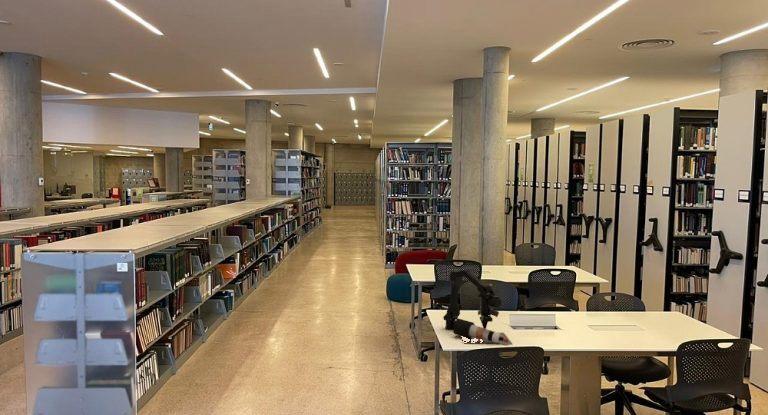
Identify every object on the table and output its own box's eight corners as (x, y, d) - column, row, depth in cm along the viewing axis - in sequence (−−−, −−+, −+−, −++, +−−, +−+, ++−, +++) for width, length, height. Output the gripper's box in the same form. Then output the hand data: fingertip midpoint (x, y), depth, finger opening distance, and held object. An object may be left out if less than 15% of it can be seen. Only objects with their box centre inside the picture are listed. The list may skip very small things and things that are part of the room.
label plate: (463, 343, 328) (463, 343, 327) (458, 332, 353) (458, 331, 353) (512, 344, 327) (512, 344, 327) (503, 332, 353) (503, 332, 353)
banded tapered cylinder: (505, 352, 325) (504, 340, 320) (454, 337, 343) (452, 325, 338) (511, 341, 332) (510, 329, 327) (460, 327, 350) (459, 315, 345)
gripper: (501, 308, 329) (500, 333, 330) (495, 301, 348) (494, 325, 349) (482, 308, 329) (482, 333, 330) (477, 301, 348) (477, 325, 349)
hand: (484, 329), depth 339 cm, fingers closed
